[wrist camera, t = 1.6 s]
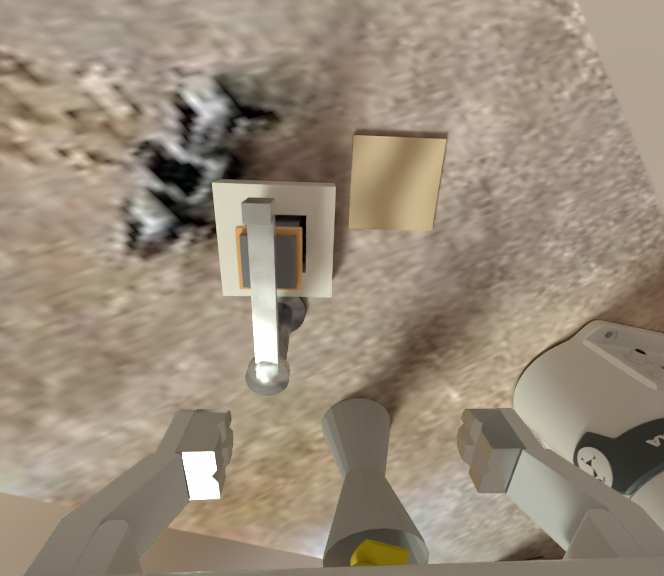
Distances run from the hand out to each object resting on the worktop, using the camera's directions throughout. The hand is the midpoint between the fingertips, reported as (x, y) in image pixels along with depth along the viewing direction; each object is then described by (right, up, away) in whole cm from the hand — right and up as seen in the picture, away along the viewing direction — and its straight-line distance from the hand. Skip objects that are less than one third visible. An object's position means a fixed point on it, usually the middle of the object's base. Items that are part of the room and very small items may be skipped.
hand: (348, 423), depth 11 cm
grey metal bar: (-5, +3, +13) cm, 14 cm away
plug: (-6, +9, +21) cm, 24 cm away
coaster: (+5, +14, +20) cm, 25 cm away
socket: (-6, +9, +21) cm, 24 cm away
